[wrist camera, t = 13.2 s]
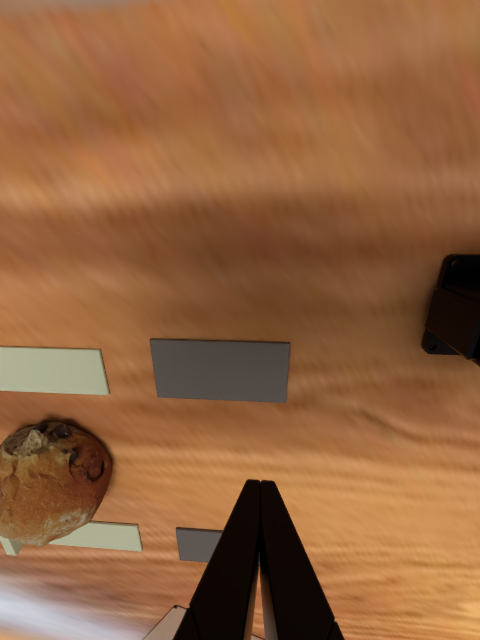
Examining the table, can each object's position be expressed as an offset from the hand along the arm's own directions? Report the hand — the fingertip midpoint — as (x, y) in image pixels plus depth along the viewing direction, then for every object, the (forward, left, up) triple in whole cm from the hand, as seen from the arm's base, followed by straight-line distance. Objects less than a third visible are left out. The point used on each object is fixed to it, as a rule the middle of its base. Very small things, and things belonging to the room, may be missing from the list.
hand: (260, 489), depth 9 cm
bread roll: (+18, +14, -12) cm, 26 cm away
